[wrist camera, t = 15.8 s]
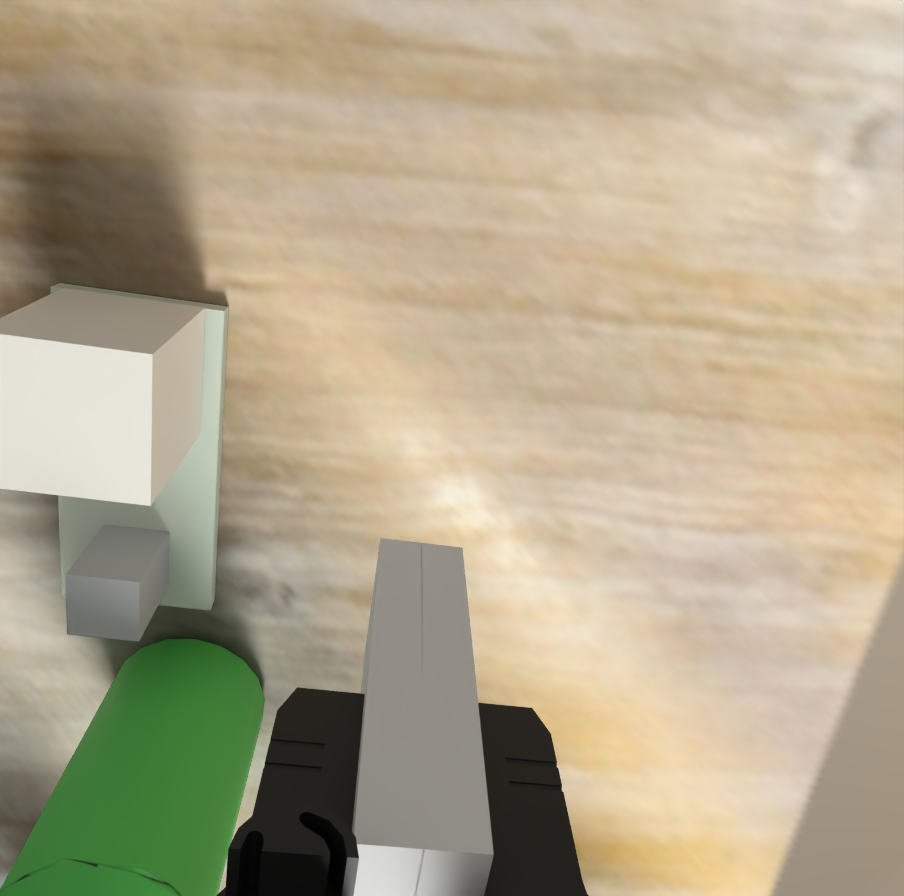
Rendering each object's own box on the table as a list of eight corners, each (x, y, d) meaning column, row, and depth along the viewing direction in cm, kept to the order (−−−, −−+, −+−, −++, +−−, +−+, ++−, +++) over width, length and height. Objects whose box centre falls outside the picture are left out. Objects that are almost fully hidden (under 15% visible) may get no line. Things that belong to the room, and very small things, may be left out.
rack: (69, 585, 44) (19, 651, 39) (59, 282, 38) (-2, 310, 33) (214, 600, 45) (186, 667, 40) (228, 306, 39) (197, 337, 33)
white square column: (67, 417, 39) (-15, 486, 32) (63, 287, 37) (-26, 330, 29) (200, 433, 40) (150, 506, 32) (205, 307, 37) (152, 354, 30)
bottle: (87, 668, 47) (-237, 1206, 24) (209, 604, 45) (-6, 1109, 22) (177, 768, 50) (-30, 1329, 27) (295, 711, 48) (183, 1250, 25)
